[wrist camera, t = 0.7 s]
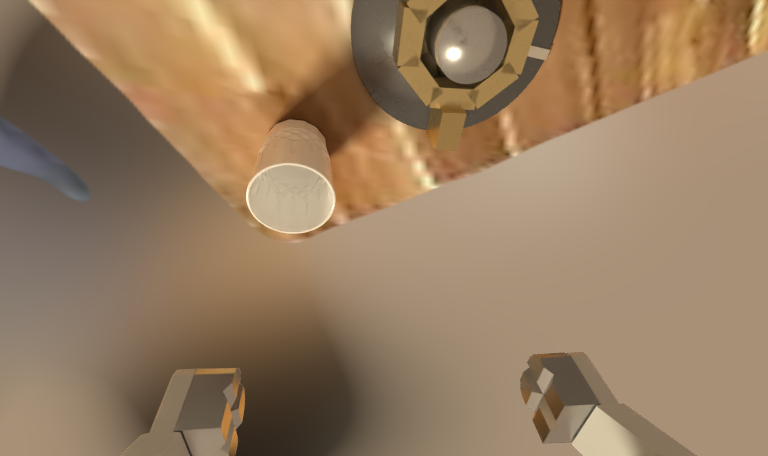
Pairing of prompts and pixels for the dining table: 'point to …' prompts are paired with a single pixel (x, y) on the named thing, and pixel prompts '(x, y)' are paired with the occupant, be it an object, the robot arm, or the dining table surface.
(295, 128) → the white cup
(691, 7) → the dining table surface
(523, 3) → the ring nut
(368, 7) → the hub plate
